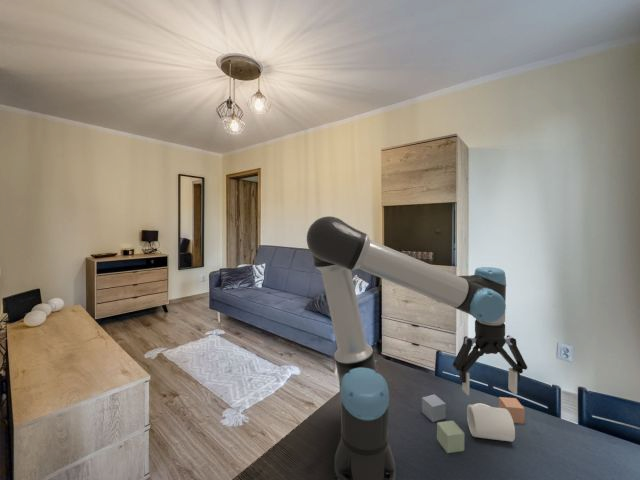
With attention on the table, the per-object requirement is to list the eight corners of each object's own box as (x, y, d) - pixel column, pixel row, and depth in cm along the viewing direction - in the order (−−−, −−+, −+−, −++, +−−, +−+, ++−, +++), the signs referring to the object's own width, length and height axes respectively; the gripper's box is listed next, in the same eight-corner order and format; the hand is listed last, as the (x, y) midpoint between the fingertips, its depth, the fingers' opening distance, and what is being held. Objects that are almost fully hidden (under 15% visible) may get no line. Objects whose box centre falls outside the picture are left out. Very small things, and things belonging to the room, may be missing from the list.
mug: (515, 449, 76) (515, 421, 76) (475, 443, 78) (475, 416, 78) (496, 418, 88) (497, 394, 87) (462, 414, 90) (462, 390, 89)
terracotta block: (506, 422, 86) (506, 407, 86) (498, 411, 91) (499, 396, 91) (524, 424, 85) (524, 408, 85) (515, 413, 90) (515, 398, 90)
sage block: (447, 453, 75) (447, 435, 74) (436, 439, 80) (437, 422, 79) (464, 451, 76) (464, 433, 75) (452, 437, 81) (453, 420, 80)
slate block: (432, 422, 86) (432, 407, 86) (421, 412, 91) (421, 397, 91) (445, 418, 88) (445, 403, 88) (434, 408, 93) (434, 394, 92)
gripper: (452, 326, 77) (452, 400, 78) (543, 325, 76) (542, 399, 78) (440, 317, 84) (441, 385, 86) (524, 315, 84) (523, 383, 85)
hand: (489, 392), depth 82 cm, fingers open, 13 cm apart
